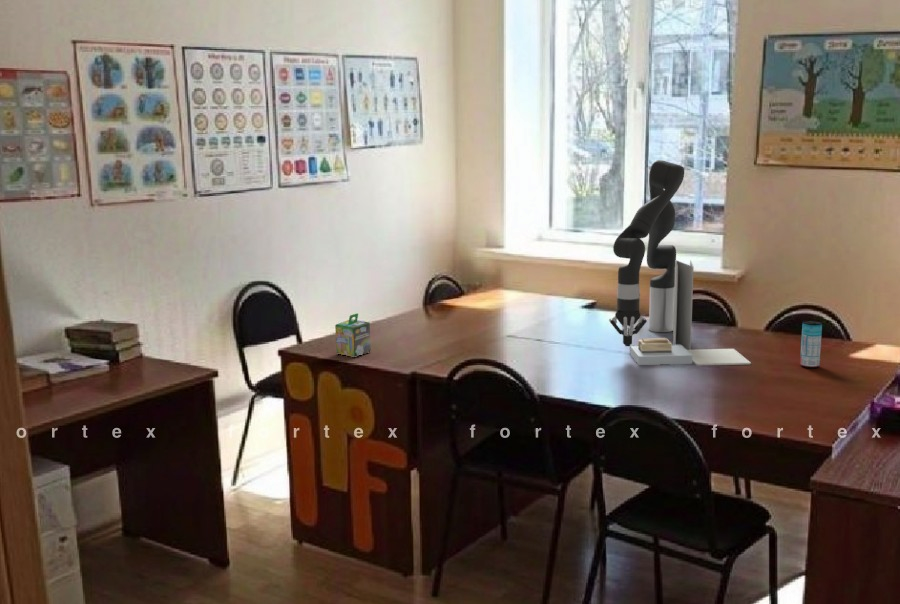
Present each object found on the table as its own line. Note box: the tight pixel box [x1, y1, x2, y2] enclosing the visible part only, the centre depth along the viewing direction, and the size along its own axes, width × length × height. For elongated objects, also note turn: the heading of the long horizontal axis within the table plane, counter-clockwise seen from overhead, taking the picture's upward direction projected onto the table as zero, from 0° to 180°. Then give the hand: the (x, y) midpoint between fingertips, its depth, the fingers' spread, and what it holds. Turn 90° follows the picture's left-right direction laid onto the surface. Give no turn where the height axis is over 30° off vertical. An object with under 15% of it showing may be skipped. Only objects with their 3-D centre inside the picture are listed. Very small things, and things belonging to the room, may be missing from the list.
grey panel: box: [672, 259, 694, 350], centre depth 317 cm, size 14×6×30 cm, turn 168°
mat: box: [686, 348, 752, 367], centre depth 303 cm, size 18×18×1 cm
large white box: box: [629, 343, 693, 366], centre depth 303 cm, size 14×18×3 cm
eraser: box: [637, 337, 673, 353], centre depth 302 cm, size 6×10×4 cm, turn 90°
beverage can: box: [799, 319, 823, 369], centre depth 288 cm, size 6×6×15 cm
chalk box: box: [334, 313, 371, 356], centre depth 317 cm, size 9×9×15 cm
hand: (627, 345), depth 302 cm, fingers closed
